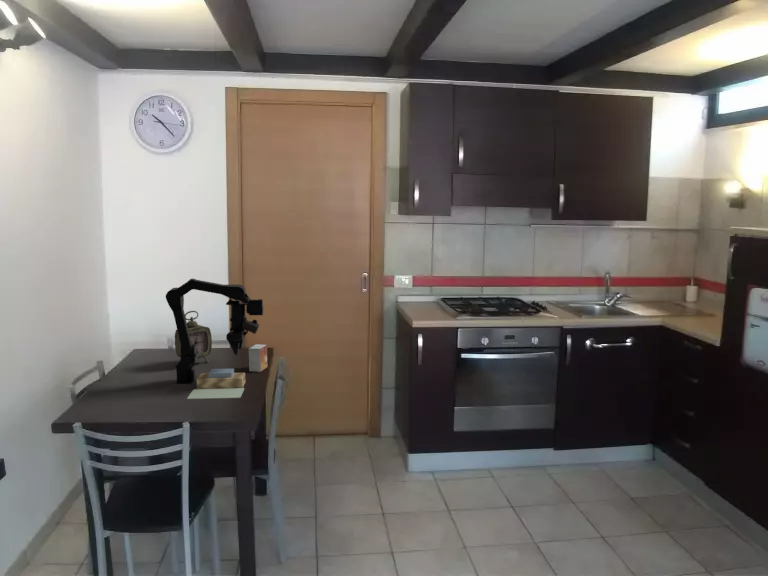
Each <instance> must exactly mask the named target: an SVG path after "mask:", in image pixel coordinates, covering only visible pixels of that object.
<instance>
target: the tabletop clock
mask: <svg viewBox="0 0 768 576" xmlns="http://www.w3.org/2000/svg"><path fill="white" fill-rule="evenodd" d="M191 313H196V317H193V316H191V317H190V318H186V317H187V316H188V314H191ZM198 317H199V313H198V311H196V310H190V311H187V312H186V313H185V318H186V322H187V326H188V330H189V334H190V339H191V342H192V343H193V345H194V344H197V350H198V351H199V353H198V357H197V359H196V360H198V359H202V358H203V359H204V362H205V363H209V359H208V358H206V357H207V356H209V355H211V352H212V346H213V345H212V341H213V340H212V332H211V329H210V327H208V326H204V325H202V324H201V325H200V324H198V322H197V321H196V319H198ZM174 349H175V353H176V355H177V357H179V358H181V355H180V350H181V343H180V339H179V335H178V331H177V329H175V332H174Z"/></svg>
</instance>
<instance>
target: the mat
mask: <svg viewBox="0 0 768 576" xmlns="http://www.w3.org/2000/svg"><path fill="white" fill-rule="evenodd" d="M244 390H245V387H243V388H221V389H197V388H194V389H193V390H192V391H191V393H189V395H188V396H187V398H186V400H213V399H214V400H216V399H217V400H218V399H221V400H223V399H240V398H241V397H242V395H243V393H244Z"/></svg>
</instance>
